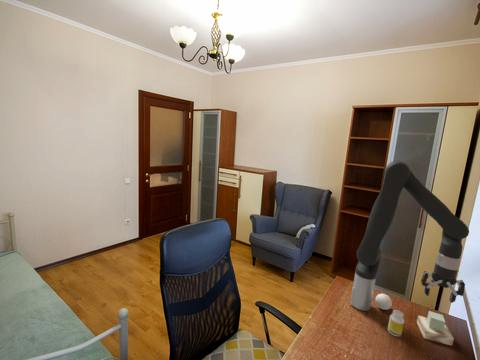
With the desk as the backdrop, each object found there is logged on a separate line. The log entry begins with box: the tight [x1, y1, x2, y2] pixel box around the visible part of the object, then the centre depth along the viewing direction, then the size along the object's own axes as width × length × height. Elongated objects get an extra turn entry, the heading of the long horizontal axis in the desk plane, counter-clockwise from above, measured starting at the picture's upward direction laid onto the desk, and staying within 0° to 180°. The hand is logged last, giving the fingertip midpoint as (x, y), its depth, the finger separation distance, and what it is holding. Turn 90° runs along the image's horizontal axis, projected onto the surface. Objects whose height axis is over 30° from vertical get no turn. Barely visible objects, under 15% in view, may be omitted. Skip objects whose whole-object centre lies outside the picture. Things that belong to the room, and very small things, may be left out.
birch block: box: [416, 315, 455, 346], centre depth 110 cm, size 10×10×4 cm
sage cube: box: [426, 310, 446, 332], centre depth 109 cm, size 5×5×5 cm
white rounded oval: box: [374, 293, 393, 311], centre depth 123 cm, size 10×7×7 cm
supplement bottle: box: [387, 309, 405, 337], centre depth 108 cm, size 5×5×10 cm
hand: (438, 298), depth 108 cm, fingers open, 8 cm apart
